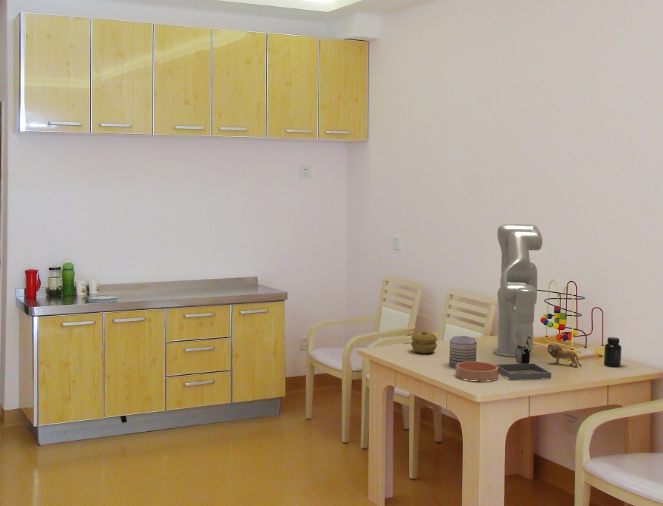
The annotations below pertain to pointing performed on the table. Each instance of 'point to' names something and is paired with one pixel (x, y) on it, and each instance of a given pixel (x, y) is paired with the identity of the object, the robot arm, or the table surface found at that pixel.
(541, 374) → the tray
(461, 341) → the can
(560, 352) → the lion figurine
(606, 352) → the supplement bottle
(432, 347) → the pot
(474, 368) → the bowl
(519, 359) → the grey cylinder
